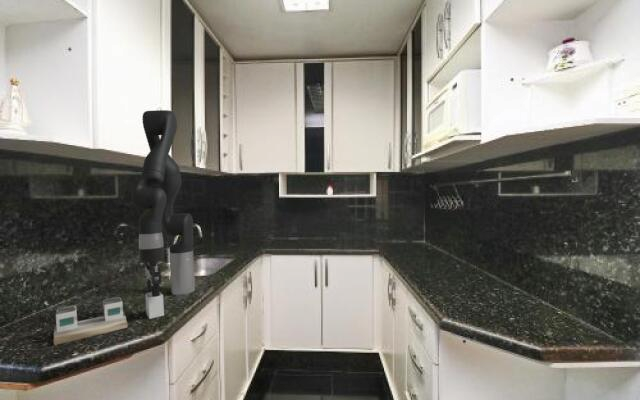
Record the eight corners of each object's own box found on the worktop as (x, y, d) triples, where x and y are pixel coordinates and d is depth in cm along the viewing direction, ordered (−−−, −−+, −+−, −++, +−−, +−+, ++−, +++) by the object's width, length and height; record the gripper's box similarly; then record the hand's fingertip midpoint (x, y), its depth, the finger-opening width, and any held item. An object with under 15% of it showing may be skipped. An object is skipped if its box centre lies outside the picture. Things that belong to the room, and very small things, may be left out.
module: (146, 314, 115) (145, 292, 114) (160, 311, 117) (159, 290, 117) (149, 318, 110) (148, 296, 110) (164, 315, 113) (162, 293, 113)
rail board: (55, 331, 102) (54, 306, 102) (122, 316, 113) (121, 293, 113) (53, 345, 93) (52, 317, 92) (127, 327, 103) (126, 302, 103)
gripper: (168, 247, 110) (170, 295, 110) (159, 243, 121) (160, 287, 121) (142, 249, 105) (144, 300, 105) (135, 245, 116) (137, 291, 116)
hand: (153, 293), depth 113 cm, fingers open, 8 cm apart
